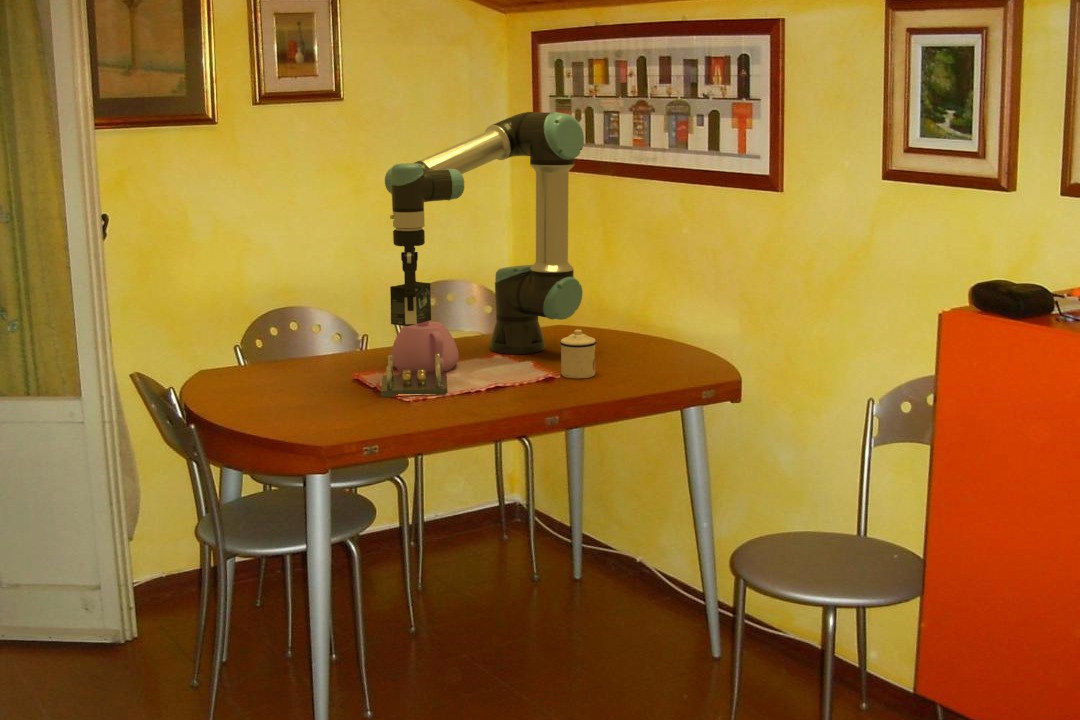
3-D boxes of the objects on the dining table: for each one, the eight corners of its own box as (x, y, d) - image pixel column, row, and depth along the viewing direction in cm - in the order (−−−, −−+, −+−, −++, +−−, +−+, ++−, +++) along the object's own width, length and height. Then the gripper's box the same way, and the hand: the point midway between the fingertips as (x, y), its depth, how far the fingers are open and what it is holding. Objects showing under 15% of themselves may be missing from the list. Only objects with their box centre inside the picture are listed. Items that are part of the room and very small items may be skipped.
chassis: (383, 380, 334) (382, 353, 332) (446, 378, 335) (446, 351, 334) (380, 397, 318) (379, 368, 317) (447, 394, 320) (446, 366, 318)
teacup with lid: (601, 377, 335) (601, 332, 332) (568, 380, 332) (567, 335, 329) (583, 367, 346) (583, 323, 343) (551, 370, 342) (550, 326, 340)
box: (408, 327, 317) (407, 288, 315) (390, 324, 320) (389, 286, 318) (432, 320, 325) (431, 282, 323) (414, 318, 328) (413, 280, 326)
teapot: (474, 372, 342) (473, 320, 339) (411, 381, 333) (408, 328, 330) (434, 354, 363) (433, 305, 360) (374, 361, 355) (372, 311, 352)
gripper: (394, 223, 329) (397, 311, 333) (391, 235, 306) (394, 329, 311) (424, 222, 329) (427, 310, 334) (424, 234, 307) (426, 328, 312)
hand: (411, 319), depth 323 cm, fingers closed on box, 10 cm apart
